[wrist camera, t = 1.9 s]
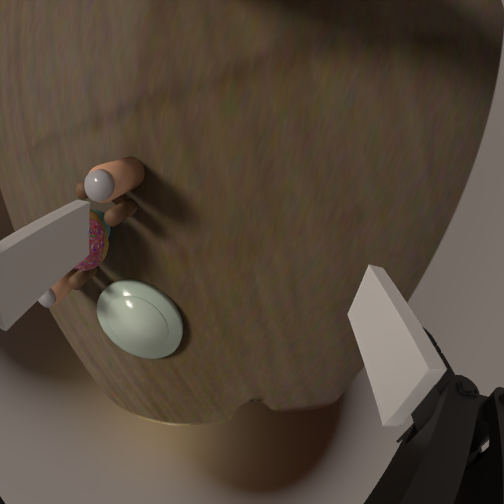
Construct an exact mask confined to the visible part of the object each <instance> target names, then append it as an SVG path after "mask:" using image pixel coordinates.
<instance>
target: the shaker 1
mask: <svg viewBox="0 0 504 504" xmlns="http://www.w3.org/2000/svg"><path fill="white" fill-rule="evenodd" d="M77 271H78V270H77V269H72V270H71V271H70V272H68V273H67V274H66V275H65V276H64V277H63V278H61V279H60V280H59V281H58V282H57V283H56V284H55V285H54V286H53V287H51V288H50V289H49V290H48V291H47V292H46V293H45V294H44V295H43V296H42V297H41V298H39V299H38V301H39V302H40V303H41V304H42V305H43V306H44V307H47V308H49V307H51V306H56V305H57V304H58V303H59V302H60V301H61V300H62V299H63V298H64V297H65V296H66V295H67V294H68V293H69V292H70V291H71V290H72V289H73V288H72V287H71V286H70V284H69V279H70V277H71V276H73V275H74V274H75V273H76V272H77Z"/></svg>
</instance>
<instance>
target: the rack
mask: <svg viewBox="0 0 504 504" xmlns="http://www.w3.org/2000/svg"><path fill="white" fill-rule="evenodd" d="M84 184H85V181H83V182H81V183H79V184H77V186H76V190H75V191H76V195H77V197H78V198H79V199H82V200H83V199H86V198H88V196H87V194H86V191H85V187H84ZM111 201H112V202H114V203H115V204H116V206H114V207H113V208H111V209H109V210H108V211H106V213H105V215H104V219H105V222H106V223H107V225H109V226H111V227H114V226H116V225H118V224H119V223H121V222H122V221H123V220H125V219H126V218H128V217H131V216H132V215H133V214H134V213H135V212H136V210H137V209H138V207H137V204H136V202H135V201H134V200H133V199H127V198H126V197H125V196H124V195H121V196H119V197H117V198H115V199H113V200H111ZM97 271H98V268H97V267H96V268H93V269H90V270H87V271H81V272H80V270H78V271H77V272H76V273H75V274H74V275H73V276H71V277H70V279H69V284H70V286H71V287H72V288H73V289H75V290H79V289H80V288H81V287H82V286H83V285H84V284H85V283H86V282H87V281H88V280H89V279H90V278H91V277H93V276H94V275H95V274H96V272H97Z"/></svg>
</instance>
